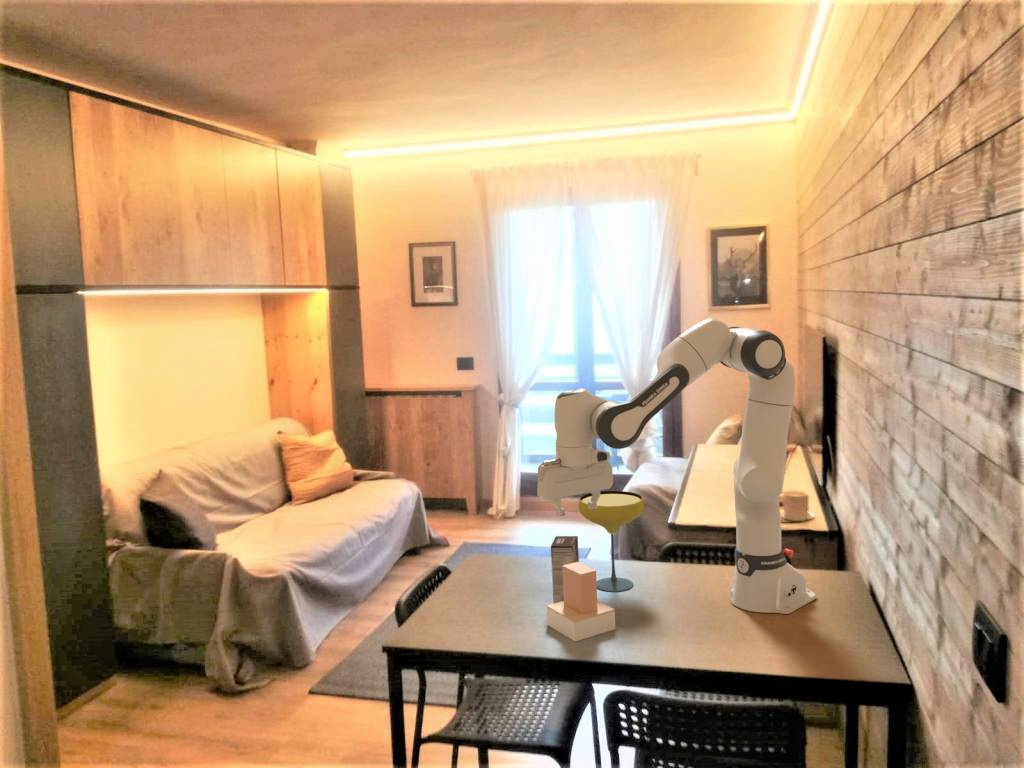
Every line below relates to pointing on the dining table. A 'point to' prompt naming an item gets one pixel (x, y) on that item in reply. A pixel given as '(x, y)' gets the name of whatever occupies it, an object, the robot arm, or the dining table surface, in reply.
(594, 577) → the carton
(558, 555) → the coffee box
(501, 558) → the dining table surface
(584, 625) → the podium
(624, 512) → the cocktail glass
